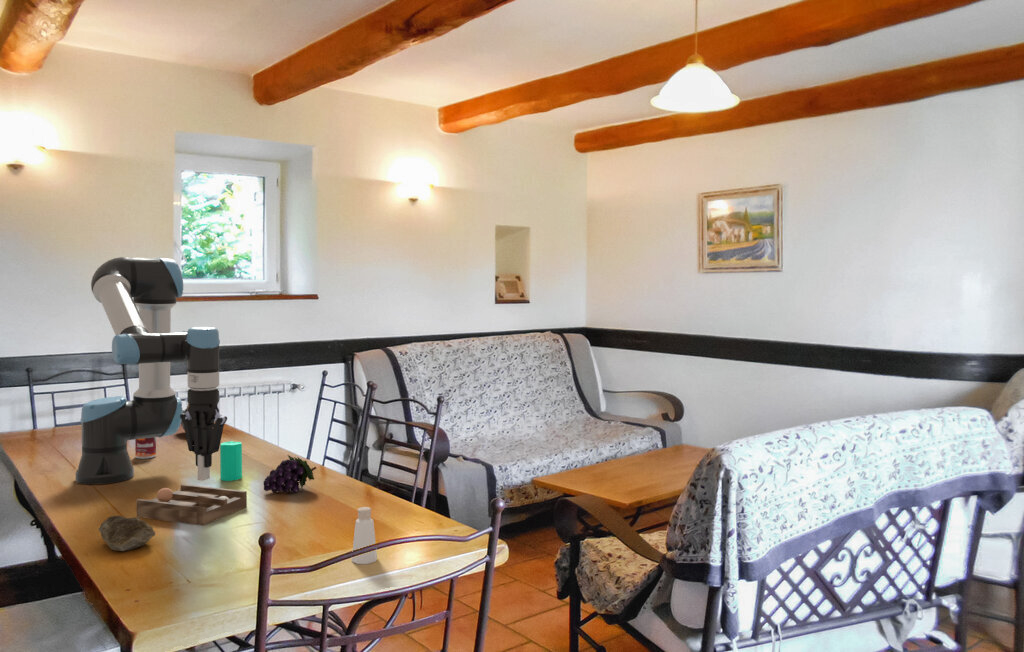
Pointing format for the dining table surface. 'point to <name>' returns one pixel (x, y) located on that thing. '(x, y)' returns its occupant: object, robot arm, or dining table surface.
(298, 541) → the dining table surface
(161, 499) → the ball terracotta
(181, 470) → the dining table surface
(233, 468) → the candle
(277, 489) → the fruit
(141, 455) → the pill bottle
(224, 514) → the board
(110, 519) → the stone
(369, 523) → the pepper shaker
